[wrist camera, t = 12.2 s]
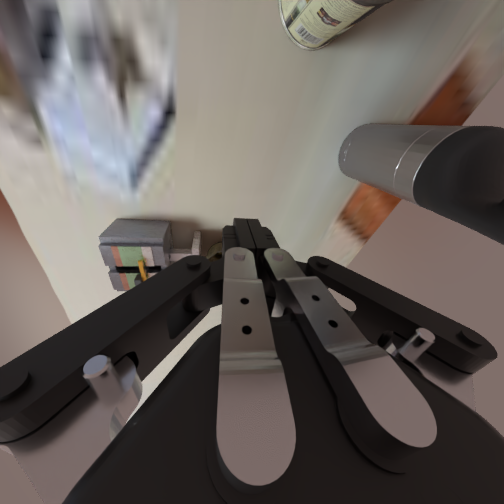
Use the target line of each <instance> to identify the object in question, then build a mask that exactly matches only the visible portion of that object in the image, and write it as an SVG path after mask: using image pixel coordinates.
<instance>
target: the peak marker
mask: <svg viewBox="0 0 504 504" xmlns="http://www.w3.org/2000/svg"><path fill="white" fill-rule="evenodd" d="M142 282H143V281H142V277H141V275H136V277H135V279H134V283H135V286H137V285H138V284H140V283H142Z"/></svg>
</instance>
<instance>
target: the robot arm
mask: <svg viewBox="0 0 504 504" xmlns="http://www.w3.org/2000/svg"><path fill="white" fill-rule="evenodd" d="M339 166H340V169H341V171H342V172H343V173H344V174H345V175H346V176H348V177H351V178H353V179H356V180H358V181H360V182H362V183H365V184H367V185H370V186H372V187H375V188H377V189H379V190H382V191H384V192H387V193H389V194H391V195H394V196H396V197H399V198H401V199H404V200H406V201H409V202H411V203H414V204H416V205H419V206H421V207H423V208H426V209H428V210H431V211H433V212H435V213H437V214H439V215H441V216H444V217H446V218H448V219H451V220H453V221H455V222H458V223H460V224H462V225H464V226H466V227H468V228H470V229H473V230H475V231H477V232H479V233H481V234H483V235H485V236H487V237H489V238H491V239H493V240H495V241H497V242H499V243H501V244H503V245H504V129H503V128H501V127H493V126H434V125H393V124H365V125H362V126H360V127H358V128H356V129H355V130H354V131H352V132H351V133H350V134H349V135H348V137H347V138H346V139H345V141H344V143H343V144H342V147H341V149H340V153H339ZM328 288H331V289H333V290H335V291H336V292H338V293H340V294H341V295H344V296H345V297H347V298H349V299H350V300H352V301H353V302H354V303H355V305H356V310H355V311H348V310H346V309H344V308H343V307H341V306H340V305H339V303H338V302H337V301H336V299H335V298H334V297H333V295H332V294H331V293H330V292H329V290H328ZM221 304H222V319H221V324H220V325H217V326H215V327H213V328H211V329H210V330H208V331H207V332H205V333H204V334H203V335H202V336H200V337H199V338H198V339H197V340H196V341H195V342H194V344H193V345H192V346H191V347H190V348H189V350H188V351H187V352H186V353H185V354H184V356H183V357H182V358H181V359H180V360H179V362H178V363H177V364H176V365H175V366H174V367H173V369H172V370H171V371H170V372H169V373H168V375H167V376H166V377H165V378H164V379H163V381H162V382H161V383H160V384H159V385H158V387H157V388H156V389H155V390H154V391H153V392H152V394H151V395H150V396H149V397H148V398H147V400H146V401H145V402H144V403H143V404H142V406H141V407H140V408H139V409H138V410H137V412H136V413H135V414H134V415H133V416H132V418H131V419H130V420H129V421H128V422H127V423H126V421H127V420H128V418H129V416H130V415H131V414H132V412H133V411H134V410H135V408H136V407H137V405H138V403H139V401H140V399H141V395H142V383H141V382H142V381H143V380H144V379H145V378H146V377H147V376H148V375H149V374H150V373H151V372H152V371H153V370H154V368H155V367H156V366H157V365H158V364H159V363H160V362H161V361H162V360H163V359H164V358H165V357H166V356H167V355H168V354H169V353H170V352H171V351H172V350H173V349H174V348H175V347H176V346H177V345H178V344H179V343H180V342H181V341H182V340H183V339H184V338H185V337H186V336H187V334H188V333H189V332H190V331H191V330H192V329H193V328H194V327H195V326H196V325H197V324H198V323H199V322H200V321H201V320H202V319H203V318H204V317H205V316H206V315H207V314H208V313H209V311H210V308H212V307H215V306H218V305H221ZM496 358H497V352H496V350H495V348H494V347H493V346H492V345H491V344H490V343H489V342H488V341H487V340H486V339H485V338H484V337H482V336H481V335H480V334H478V333H477V332H475V331H473V330H472V329H470V328H468V327H466V326H464V325H462V324H460V323H457V322H456V321H454V320H452V319H449V318H447V317H445V316H443V315H441V314H439V313H437V312H435V311H433V310H431V309H429V308H427V307H425V306H423V305H421V304H419V303H417V302H415V301H413V300H411V299H409V298H407V297H405V296H403V295H400V294H399V293H396V292H394V291H392V290H390V289H388V288H386V287H384V286H382V285H380V284H378V283H376V282H374V281H372V280H370V279H368V278H366V277H364V276H362V275H360V274H358V273H356V272H354V271H352V270H349V269H347V268H345V267H343V266H341V265H339V264H337V263H335V262H333V261H331V260H329V259H327V258H324V257H320V256H313V257H310V258H309V259H308V262H307V263H303V262H298V261H295V260H294V259H293V257H292V256H291V255H290V253H288V252H287V251H285V250H283V249H280V247H279V245H278V243H277V241H276V240H275V238H274V236H273V234H272V232H271V230H269V229H268V228H267V227H261V224H260V222H259V220H258V219H244V218H234V221H233V226H227V225H226V226H225V227H224V228H223V234H222V258H221V259H219V260H216V261H213V262H210V261H209V260H208V259H207V258H206V257H204V256H200V255H189V256H186V257H183V258H181V259H180V260H178V261H176V262H175V263H173V264H172V265H170V266H168V267H167V268H165V269H163V270H162V271H160V272H158V273H157V274H155V275H153V276H152V277H150V278H148V279H147V280H145V281H143V282H142V283H140V284H138V285H137V286H135V287H133V288H132V289H130V290H128V291H127V292H125V293H123V294H122V295H120V296H118V297H117V298H115V299H113V300H112V301H110V302H108V303H107V304H105V305H103V306H102V307H100V308H98V309H97V310H95V311H93V312H92V313H90V314H88V315H87V316H85V317H83V318H82V319H80V320H78V321H77V322H75V323H73V324H72V325H70V326H68V327H67V328H65V329H63V330H62V331H60V332H58V333H57V334H55V335H53V336H52V337H50V338H48V339H47V340H45V341H43V342H42V343H40V344H38V345H37V346H35V347H33V348H32V349H30V350H28V351H27V352H25V353H23V354H22V355H20V356H19V357H17V358H15V359H13V360H12V361H10V362H8V363H7V364H5V365H3V366H2V367H0V449H2V450H4V451H6V452H8V453H10V454H11V455H13V456H14V457H15V458H16V460H17V461H18V463H19V464H20V466H21V468H22V469H23V470H24V472H25V474H26V475H27V477H28V479H29V480H30V482H31V483H32V485H33V486H34V488H35V490H36V491H37V493H38V494H39V496H40V497H41V499H42V500H43V502H44V504H504V437H503V436H502V435H501V434H500V433H499V432H498V431H497V430H496V429H495V428H494V427H493V426H492V425H491V424H490V423H489V422H487V421H486V420H485V419H484V418H483V417H482V416H480V415H479V414H478V413H477V412H476V409H475V398H474V388H473V378H472V375H473V374H474V373H476V372H477V371H478V370H480V369H481V368H483V367H484V366H486V365H487V364H489V363H490V362H492V361H493V360H494V359H496ZM125 424H126V425H125Z"/></svg>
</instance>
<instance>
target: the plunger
mask: <svg viewBox="0 0 504 504" xmlns="http://www.w3.org/2000/svg"><path fill="white" fill-rule="evenodd" d="M168 254H169V261H178V260H180V259H181V258H183V257H186V256H189V255H200V256H201V231H195V233H194V239H193V245H192V249H170V250H169V252H168ZM138 265H139V269H140V273H141V277H142V281H145V280H147V277H146V273H147V270H148V268H149V266H144V264H143V260H138Z"/></svg>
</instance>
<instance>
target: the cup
mask: <svg viewBox="0 0 504 504" xmlns="http://www.w3.org/2000/svg"><path fill="white" fill-rule="evenodd" d="M206 258H207V259H208V260H209V261H210V262H213V261H216V260H219V259H221V258H222V242H219V243H217V244H215V245H213V246H212V247H211V248H210V249H209V251H208V253H207V256H206Z"/></svg>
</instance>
